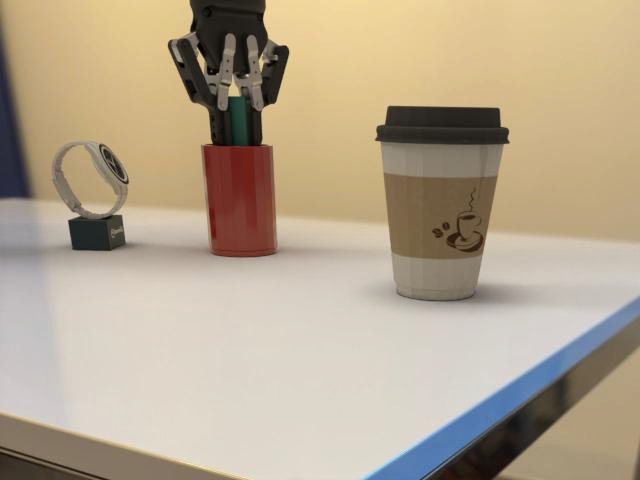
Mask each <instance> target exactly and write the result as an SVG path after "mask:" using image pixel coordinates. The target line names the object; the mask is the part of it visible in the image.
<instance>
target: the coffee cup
mask: <svg viewBox="0 0 640 480" xmlns="http://www.w3.org/2000/svg"><path fill="white" fill-rule="evenodd" d="M375 131H376V137H375V138H374V141H375V142H380V152H381V153H380V154H381V162H382V173H383V183H384V193H385V204H386V213H387V221H388V222H387V223H388V224H387V225H388V235H389V243H390V253H391V264H392V274H393V282H394V283H395V285H396V292H397V294H398V295H401V296H403V297H406V298H409V299H415V300H422V301H455V300H458V301H459V300H464V299H467V298H470V297H473V295H474V293H475V288H476V286H477V284H478V282H479V278H480V272H481V266H482V261H483V256H484V251H485V246H486V240H487V235H488V230H489V225H490V219H491V214H492V209H493V203H494V200H495V195H496V194H495V193H496V188H497V184H498V178H499V172H500V167H501V162H502V156H503V151H504V146H505V145H509V144H511V142H510V140H509V136H510V129H509V128H508V127H506V126H502V120H501V109H500V107H489V106H488V107H487V106H485V107H484V106H480V107H479V106H436V105H435V106H432V105H431V106H430V105H427V106H426V105H425V106H424V105H388V106H387V107H386V115H385V121H384V124H379V125H377V126H376V129H375Z"/></svg>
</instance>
